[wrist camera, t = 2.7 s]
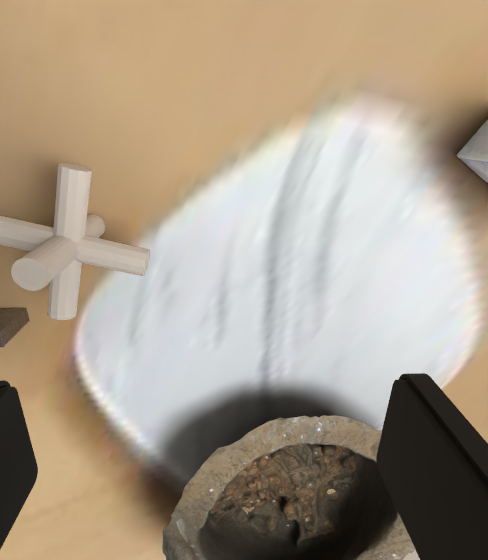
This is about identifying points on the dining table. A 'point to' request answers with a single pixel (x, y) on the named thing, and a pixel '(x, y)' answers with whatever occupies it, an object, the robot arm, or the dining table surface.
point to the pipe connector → (67, 245)
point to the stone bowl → (290, 497)
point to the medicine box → (477, 152)
